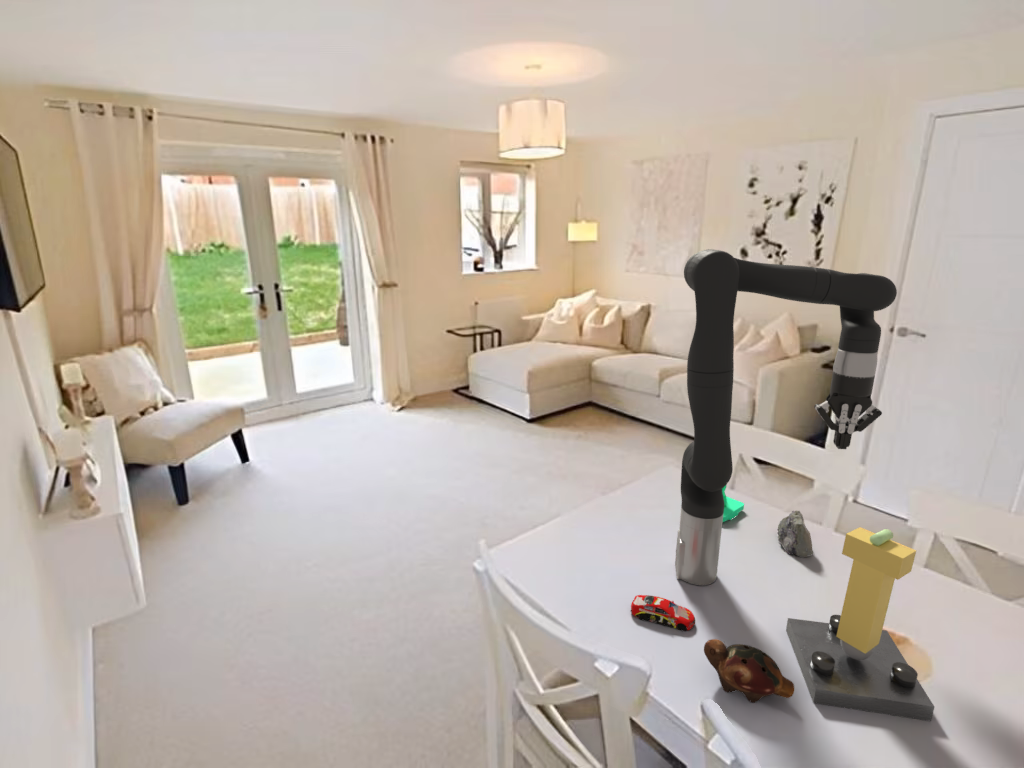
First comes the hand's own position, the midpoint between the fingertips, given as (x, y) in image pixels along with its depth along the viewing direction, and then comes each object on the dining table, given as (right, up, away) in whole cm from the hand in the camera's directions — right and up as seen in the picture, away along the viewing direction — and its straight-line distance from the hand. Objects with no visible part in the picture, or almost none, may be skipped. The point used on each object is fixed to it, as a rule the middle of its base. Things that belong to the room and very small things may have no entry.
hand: (840, 447), depth 118 cm
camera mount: (-11, -24, +38) cm, 47 cm away
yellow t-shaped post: (-9, -36, -18) cm, 42 cm away
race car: (-40, -36, -3) cm, 54 cm away
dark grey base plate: (-9, -40, -17) cm, 44 cm away
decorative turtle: (-30, -41, -21) cm, 55 cm away
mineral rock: (+2, -28, +23) cm, 36 cm away
